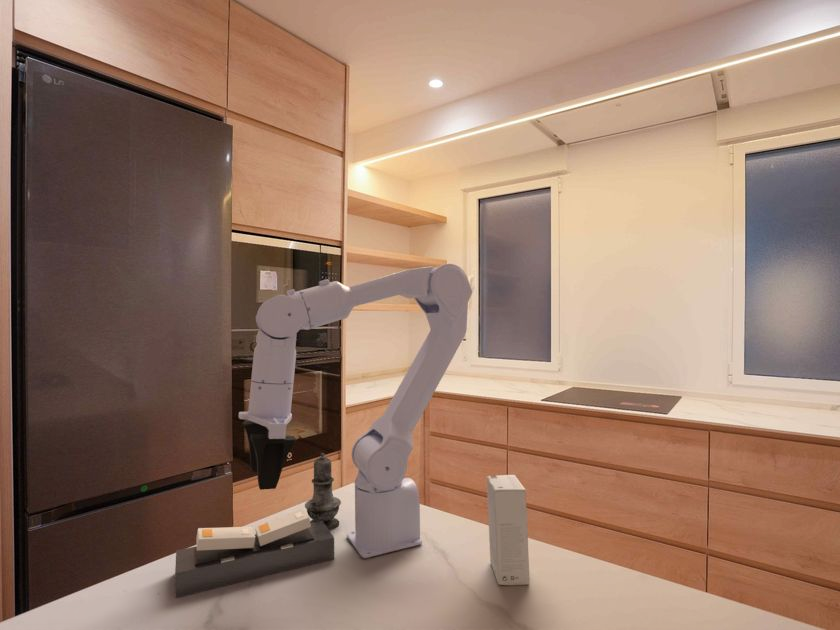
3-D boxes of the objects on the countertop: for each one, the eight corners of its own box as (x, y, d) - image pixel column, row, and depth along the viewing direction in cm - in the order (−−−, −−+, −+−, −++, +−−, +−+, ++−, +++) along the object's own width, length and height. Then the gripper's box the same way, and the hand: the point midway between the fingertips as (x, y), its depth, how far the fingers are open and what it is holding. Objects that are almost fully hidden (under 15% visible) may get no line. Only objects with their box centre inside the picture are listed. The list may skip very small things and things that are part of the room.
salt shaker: (333, 534, 74) (332, 458, 74) (298, 531, 76) (297, 456, 76) (346, 518, 80) (345, 448, 80) (314, 516, 81) (313, 446, 81)
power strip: (322, 539, 72) (322, 519, 72) (334, 558, 67) (334, 536, 67) (176, 572, 64) (176, 549, 64) (175, 597, 58) (175, 571, 58)
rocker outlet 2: (305, 517, 70) (303, 507, 70) (311, 526, 67) (309, 516, 67) (256, 535, 67) (254, 525, 67) (260, 546, 64) (258, 536, 63)
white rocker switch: (250, 536, 66) (252, 526, 67) (253, 547, 63) (255, 536, 63) (196, 538, 63) (198, 527, 64) (196, 550, 60) (198, 538, 60)
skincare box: (531, 585, 60) (529, 489, 60) (495, 586, 59) (494, 490, 59) (519, 560, 66) (517, 473, 66) (487, 561, 66) (486, 474, 66)
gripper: (237, 374, 71) (228, 465, 70) (248, 388, 58) (237, 499, 57) (284, 376, 74) (276, 463, 73) (306, 389, 61) (296, 495, 60)
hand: (263, 479), depth 66 cm, fingers open, 7 cm apart
